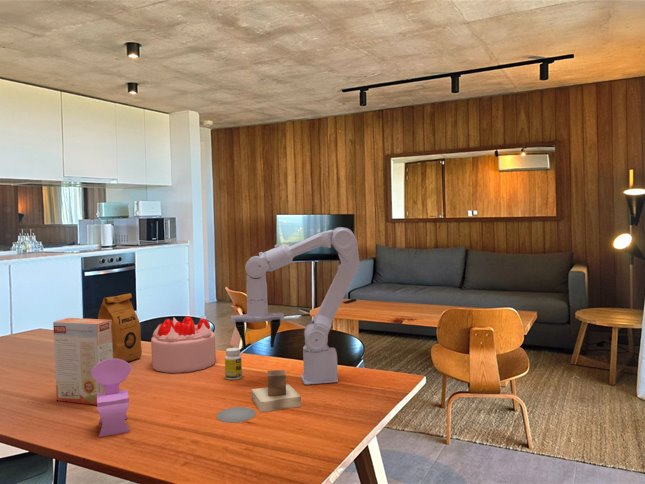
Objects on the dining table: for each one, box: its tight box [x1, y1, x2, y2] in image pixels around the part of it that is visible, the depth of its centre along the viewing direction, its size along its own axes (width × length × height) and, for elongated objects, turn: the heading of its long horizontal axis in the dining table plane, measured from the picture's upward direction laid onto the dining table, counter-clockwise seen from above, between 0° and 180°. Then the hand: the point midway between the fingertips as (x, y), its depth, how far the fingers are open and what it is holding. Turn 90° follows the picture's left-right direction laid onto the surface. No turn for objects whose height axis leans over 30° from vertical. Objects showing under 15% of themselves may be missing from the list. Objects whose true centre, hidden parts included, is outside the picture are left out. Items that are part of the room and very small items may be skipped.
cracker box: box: [52, 317, 113, 406], centre depth 133 cm, size 14×6×21 cm, turn 71°
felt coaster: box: [216, 406, 256, 424], centre depth 121 cm, size 9×9×1 cm
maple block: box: [251, 383, 302, 413], centre depth 129 cm, size 10×10×3 cm
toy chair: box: [91, 359, 132, 438], centre depth 115 cm, size 8×9×15 cm
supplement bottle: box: [224, 347, 243, 381], centre depth 150 cm, size 5×5×8 cm
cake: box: [150, 315, 217, 374], centre depth 164 cm, size 20×20×14 cm
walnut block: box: [266, 369, 287, 396], centre depth 129 cm, size 4×4×5 cm
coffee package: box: [97, 292, 143, 363], centre depth 169 cm, size 10×12×22 cm
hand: (258, 347), depth 145 cm, fingers open, 7 cm apart
